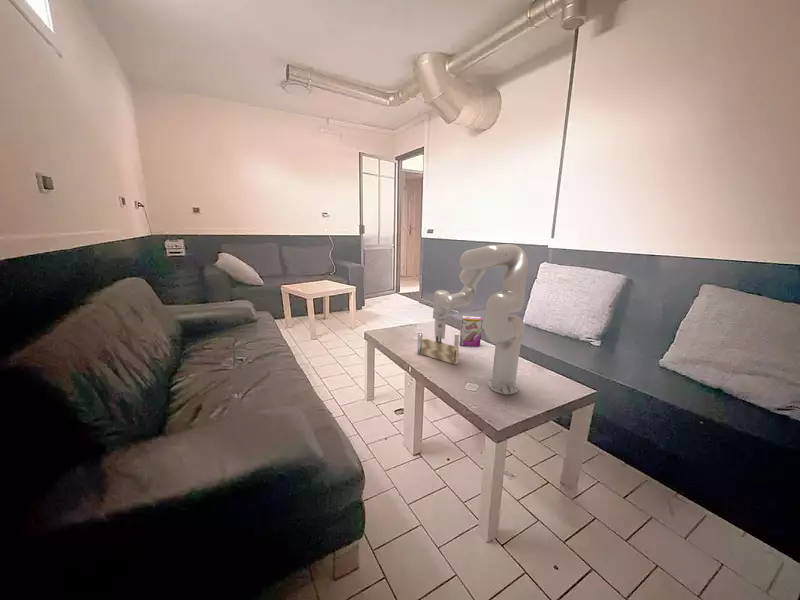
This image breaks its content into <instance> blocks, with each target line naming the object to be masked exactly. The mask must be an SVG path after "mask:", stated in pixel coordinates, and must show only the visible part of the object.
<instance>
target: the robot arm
mask: <svg viewBox="0 0 800 600" xmlns="http://www.w3.org/2000/svg"><path fill="white" fill-rule="evenodd" d="M459 265H460V267H461V268H462V270H461V272H460V273H459V277H458V278H459V280H460V281H461V283H462V284H463V288H462V289H461V290H460V291H459V292H456V293H451V294H450V292H449V291H448V290H444V289H443V290H441V289H438V290H436V291H435V292H434V297H433V307H432V308H433V309H432V310H433V311H432V319H434V338H435V341H437V342H441V343H443V342H442V339H443V340H444V339H445V337H446V323H447V320H448V318H449V312H450V311H455V310H458V309H463V308H466V307H467V306H468V305H469V304H470V303H471V302H472V300H473V299H474V298H475V296H476V294H477V285H478V283H479V281H480V280H481V278H483V275H485V272H486V271H487V269H493V268H501V267H506V270H505V272H504V274H503V278H502V286H501V291H497V292H494V293H492V294H491V295H490V296H489V297H488V300H487V301H486V308H485V319H484V320H485V321H484V333H485V334H484V335H485V337H486V339H487V341H489V342H490V343H491V344H494V345H495V347H494V348H495V349H494V355H493V356H494V357H493V366H492V376H491V378H489V380H488V381H487V386H488V388H489V389H490V390H491V391H493V392H495V393H497V394H501V395H515V394H517V393H518V392H519V391H520V386H519V384H518V383H517V374H518V366H519V357H520V351H521V345H522V340H523V338H524V336H525V335H524V334H525V323H524V321H523V320H522V318H521V317H520V316H518V315H516V313H518V312H520V311H522V310H523V307H524V304H525V294H526V285H527V276H528V269H529V268H528V267H529V259H528V255H527V254H526V252H525V250H524V249H523V248H521V247H520V246H518V245H516V244H513V243H512V244H511V243H504V244H503V243H502V244H491V245H484V246H482V247H477V248H472V249H468V250H466V251H464V252H463V253H462V254H461V256H460V259H459ZM514 314H515V315H514Z"/></svg>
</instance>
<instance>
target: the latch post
mask: <svg viewBox="0 0 800 600" xmlns="http://www.w3.org/2000/svg"><path fill="white" fill-rule="evenodd" d="M453 339H454V340H453V341H454V342H453V343H454V344H453V346H456V347H459V345H460V332H458V333H456V332H455V333H454V338H453Z"/></svg>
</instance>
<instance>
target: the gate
mask: <svg viewBox="0 0 800 600" xmlns="http://www.w3.org/2000/svg"><path fill="white" fill-rule="evenodd" d="M459 352H460V349H459V346H458V347H456V346H454V345H452V344H448V343H444V342H442V343H441V342H437V341H436V340H432V339H429V338H425V337H422V352H421V355H423V356H427V357H430V358H432V359H433V358H434V359H437V360H439V361H443V362H446V363H450V364H453V365H458V364H459V355H460V354H459Z"/></svg>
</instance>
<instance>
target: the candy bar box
mask: <svg viewBox="0 0 800 600" xmlns="http://www.w3.org/2000/svg"><path fill="white" fill-rule="evenodd" d="M482 330H483V317H482V316H470V315H461V321H460V332H459V346H461V347H481V340H482Z"/></svg>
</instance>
